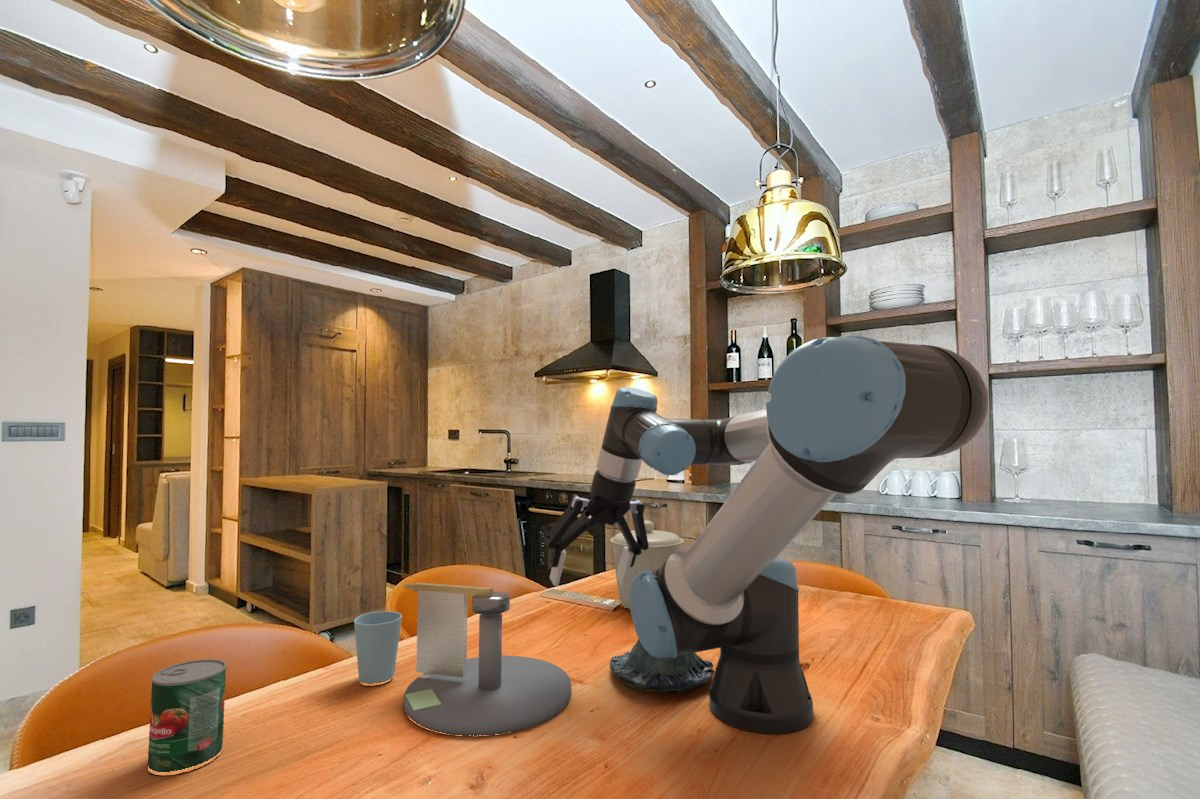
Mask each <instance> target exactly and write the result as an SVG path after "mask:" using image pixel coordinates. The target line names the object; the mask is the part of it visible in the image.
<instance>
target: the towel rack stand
mask: <svg viewBox="0 0 1200 799" xmlns="http://www.w3.org/2000/svg"><path fill="white" fill-rule="evenodd" d="M404 590H412V591H413V592H417V620H416V621H417V622H416V628H417V629H416V660H415V662H416V664H415V668H416V669H415V670H416V671H415V672H416V673H420V674H424V673H427V674H435V675H444V676H452V677H461V678H463V677H464V676H466V665H467V659H468V656H467V654H468V649H467V647H468V602H469V601H468V598H469V597H468V596H470V597H471V612H472V613H475V614H478V615H481V614H486V615H489V614H499V613H501V614H503V613H505V612H508V611H509V610H510V608H511V607H510V603H511V595H510V594H509V592H504V591H493V590H494V589H493V587H485V586H483V587H482V586H471V585H469V586H468V585H458V584H457V585H456V584H455V585H454V584H443V583H441V584H440V583H431V582H429V583H428V582H427V583H426V582H414V583H407V582H406V583H404Z"/></svg>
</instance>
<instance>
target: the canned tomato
mask: <svg viewBox="0 0 1200 799" xmlns="http://www.w3.org/2000/svg"><path fill="white" fill-rule="evenodd" d="M226 670H227V663H226V661H224V660H220V659H213V658H211V659H210V658H205V659H195V660H189V661H184V662H183V661H182V662H180V663H176V664H173V665H169V666H166V667H165V668H162V669H161V670H158V671H156V673H154V674H152V676H151V690H150V691H151V692H150V693H151V694H150V696H151V698H150V714H149V715H150V716H149V717H150V718H149V732H148V737H149V738H148V746H147V748H148V752H147V757H148V758H147V766H149V768H150V769H152V770H154V771H157V772H170V771H175V770H176V771H177V770H182V769H185V768H189V767H192V766H196V765H198V764H201V763H203V762H205V761H208V760H209V759H211V758H213V757H214V756H216V755H217V754H218V753H219V752H220V751H221V749H222V746H223V741H224V723H225V722H224V721H225V720H224V718H225V704H226V703H225V700H226V696H225V694H226V681H227V680H226Z"/></svg>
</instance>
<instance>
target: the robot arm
mask: <svg viewBox="0 0 1200 799" xmlns="http://www.w3.org/2000/svg"><path fill="white" fill-rule="evenodd" d="M767 392H768V394H770V395H771V396H770V397H771V398H770V400H768V401H766V402H765V404H766V405H765V408H764V409H760V410H756V411H752V412H747V413H743V414H739V415H736V416H731V417H726V418H721V419H719V418H718V419H696V418H694V419H692V418H668V417H667V418H666V417H663V416H661V415H660V414H658V413H657V411H658V402H659V401H658V397H657V396H656V395H655V394H653V393H651V392H648V391H645V390H643V389H639V388H634V387H628V386H624V387H623V386H622V387H619V388H618V389H617V390H616V391H615V395H614V398H613V402H612V404H611V405H610V407H609V408H610V411H609V415H608V417H607V423H606V427H605V431H604V435H603V439H602V444H601V448H600V452H599V454H598V460H597V463H596V468H597V470H595V471H594V474H593V477H592V481H591V482H592V483H591V486H590V493H589V496H588V497H587V498H585V497H579V495H578V494H573V495H572V497H571V498H570V501H569V504H568V505H567V507H566V508H565V510H564V511H563V513H562V514H561V515H560V517H559V518H558V519H557V521H556V522H555V523H554V524H553V526H552V527H551V528H550V529H549V530H548V532H547V534H546V535H545V536H544V538H543V540H544V542H545V544H546V545H547V547H548V548H549V549H551V552H550V557H549V563H550V565H551V570H550V573H549V574H550V575H549V580H550V581H551V583H552V585H553V586H554V587H559V584H560V580H561V576H562V574H563V568H564V564H565V562H566V557H567V551H566V548H568V547H569V545H571V544H572V543H573V542H574V541H575V540H577V539H578V538H579V537H580V536H581V535H583V533H584V532H585V531H586V530H588V529H589V528H592V527H594V526H595V525H596V524H597V525H602V526H603V525H608V526H614V525H615V524H616V525H617V527H618V529H619V531H620V533H622V534H623V536H624V538H625V540H626V542H627V544H628V546H629V548H628V547H624V548H623V551H622V555H621V559H620V562H619V566H618V570H617V573H616V572H615V579H616V581H617V580H618V581H619V583H620V584H621V585H625V583H626V580H627V576H628V572H629V569H630V567H633V565H634V562H635V559H636V555H640V554H641V552H642V551H641V550H642V549H644V550H647V549H648V547H649V545H648V540H647V534H646V529H645V523H644V521H645V520H644V519H645V518H644V512H645V504H643V502H642V501H641V500H639V498H634V499H633V500H632V498H633V495H634V491H635V488H636V484H637V482H636V480H637V479H638V477H639V475H640V470H641V466H642V463H643V462H644V464H646V465H647V466H648V467H649V468H651V469H653V470H655V471H658V472H659V473H660V474H662V475H665V476H676V475H679V474H680V473H682V472H684V471H687V469H688V468H689V467H690V466H704V465H705V466H706V465H709V466H710V465H711V466H712V465H715V466H718V465H719V466H720V465H722V466H725V465H730V466H740V465H746V464H747V465H748V464H752V463H753V462H754V463H753V465H752V466H751V467H750V469H749V470H748V471H747V472H746V474H745V475H744V476H743V477H742V479H741V480H740V481H739V483H738V485H737V486H736V487H735V489H733V491H732V492H731V494H730V495H729V496H728V498H727V499H725V501H724V503H723V504H722V506H721V507H720V508H719V510H718V511H717V512H716V513H715V514H714V516H713V517H712V519H711V520H710V521H709V522H708V524H707V525H706V527H705V528H704V529H703V530H702V532H701V533H700V535H699V536H698V537H697V538H696V540H694V542H693V544H692V545H691V544H690V545H683V546H681V548H678V549H677V550H675V551H674V552H673V553H672V554H671V555H670V556H669V558H668V559H667V561H666V562H665V563H664V564H663V566H662V567H661V568H660V569H657V570H653V571H650V570H645V571H643V572H639V573H637V574H636V575H635V576H634V578H633V580H632V583H631V587H630V609H631V611H630V615H631V618H632V623H633V627H634V629H635V630H634V631H635V633H636V635H637V637H638V638H639V640H640V642H641V644H642V646H643V647H644V649H645V650H646V651H647V652H648V653H649V654H650V655H651V656H653V657H655V658H670V657H671V658H672V657H673V658H676V657H677V656H679V655H684V654H690V653H700V652H705V651H710V650H716V649H720V650H719V652H720V653H719V657H718V660H717V663H716V667H715V670H714V671H715V674H714V675H713V678H712V682H711V684H710V686H709V691H708V694H709V695H708V696H709V697H708V698H709V700H708V701H709V705H708V706H709V708H710V711H711V712H712V714H714V715H715V716H716V717H717V718H718V719H720V720H721V721H723V722H725V723H727V724H729V725H731V726H734V727H736V728H739V729H742V730H746V731H749V732H750V731H751V732H757V733H764V734H765V733H766V734H787V733H791V732H792V733H793V732H798V731H800V730H803V729H805V728H807V727H808V726H809V725H810V724H812V722H813V719H814V702H813V698H812V694H811V692H810V690H809V686H808V683H807V680H806V679H807V678H806V677H805V673H804V671H803V668H802V665H801V662H800V638H799V636H800V634H799V633H800V631H799V630H800V629H799V628H800V626H799V622H800V621H799V620H800V619H799V592H800V587H798V579H797V578H798V577H797V570H796V566H795V565H794V564H793V562H791V561H790V560H788V559H786V558H782V557H779V556H778V555H780V554H781V553H782V552H783V550H785V549H786V548H787V547H788V545H789V544H790V543H791V542H792V541H793V540H795V538H796V537H797V536H798V535H799V534H800V533H801V532H802V531H803V530H804V528H805V527H806V526H807V525H809V523H810V522H811V521H812V520H813V519H814V518H815V517H816V515H818V514H819V513H820V512H821V511H822V509H823V508H824V507H826V505H827V504H828V503H829V502H830V501H831V500H832V499H833V498H834V497H835V496H836V495H837V496H838V495H840V496H851V495H855V494H858V493H860V492H861V491H862V490H864V489H865V487H867V486H868V484H870V482H872V481H873V480H874V479H875V478H876V476H877V475H878V474H879V473H881V472H882V471H883V469H884V468H885V467H886V466H888V464H890V463H892V462H893V461H895V460H896V459H921V458H935V457H939V456H944V455H947V454H950V453H953V452H955V451H957V450H959V449H961V448H962V447H964V446H966V445H967V444H969V443H970V442H971V441H972V440H973V438H975V437H976V436H977V435H978V433H979V432H980V430H981V429H982V427H983V425H984V424H985V421H986V419H987V418H986V417H987V415H988V410H989V394H988V389H987V386H986V383H985V380H984V379H983V377H982V375H981V374H980V372H979V370H977V369H976V367H975V366H974V365H973V364H972V363H971V362H970V360H968V359H966V358H965V357H963V356H962V355H961V354H958V353H956V352H955V351H953V350H950V349H947V348H944V347H941V346H937V345H936V346H935V345H929V344H916V343H915V344H914V343H905V342H904V343H903V342H895V341H882V340H877V339H874V338H871V337H867V336H862V335H842V336H827V337H820V338H816V339H812V340H810V341H807V342H805V343H803V344H801V345H799V346H798V347H797V348H795V349H793V351H791V352H790V353H789V354H788V355H787V356H785V358H784V359H783V360H782V362H781V363H780V364H779V365H778V367H777V368H776V370H775V372H774V374H773V376H772V378H771V380H770V383H769V386H768V390H767ZM642 461H643V462H642ZM631 500H632V501H631ZM585 507H586V509H585V510H584V508H585ZM629 511H630V512H631V517H632V522H633V523H632V524H633V528H634V530H635V534H636V539H637V541H635V539H634V537H633V535H632V533H631V531H632V530H631V529H630V527H629V525H628V521H627V520H626V518H625V517H624V516H625V515H626V514H627V513H628V512H629ZM579 515H580V516H579ZM578 516H579V517H578Z"/></svg>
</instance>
